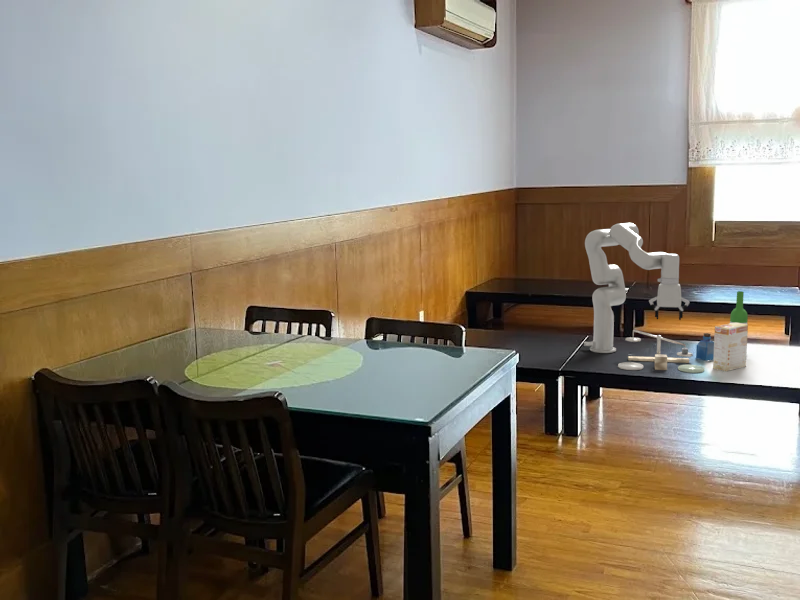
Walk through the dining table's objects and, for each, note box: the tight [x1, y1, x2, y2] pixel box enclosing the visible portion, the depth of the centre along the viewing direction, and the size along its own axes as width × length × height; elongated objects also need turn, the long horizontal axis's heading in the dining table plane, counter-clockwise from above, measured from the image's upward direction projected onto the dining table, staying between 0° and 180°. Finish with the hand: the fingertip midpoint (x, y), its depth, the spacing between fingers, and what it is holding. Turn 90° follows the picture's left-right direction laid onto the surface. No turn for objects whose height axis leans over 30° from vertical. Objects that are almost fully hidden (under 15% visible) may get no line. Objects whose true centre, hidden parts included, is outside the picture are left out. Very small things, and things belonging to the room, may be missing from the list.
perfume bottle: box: [695, 332, 714, 362], centre depth 376 cm, size 6×6×12 cm
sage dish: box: [677, 364, 705, 374], centre depth 357 cm, size 11×11×1 cm
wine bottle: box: [729, 290, 749, 325], centre depth 385 cm, size 8×8×30 cm
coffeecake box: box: [712, 322, 749, 372], centre depth 358 cm, size 15×7×20 cm, turn 123°
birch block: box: [654, 353, 668, 371], centre depth 360 cm, size 5×5×6 cm
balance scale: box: [625, 329, 694, 364], centre depth 373 cm, size 30×7×15 cm, turn 76°
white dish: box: [617, 361, 644, 371], centre depth 363 cm, size 11×11×1 cm
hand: (668, 319), depth 360 cm, fingers open, 9 cm apart
